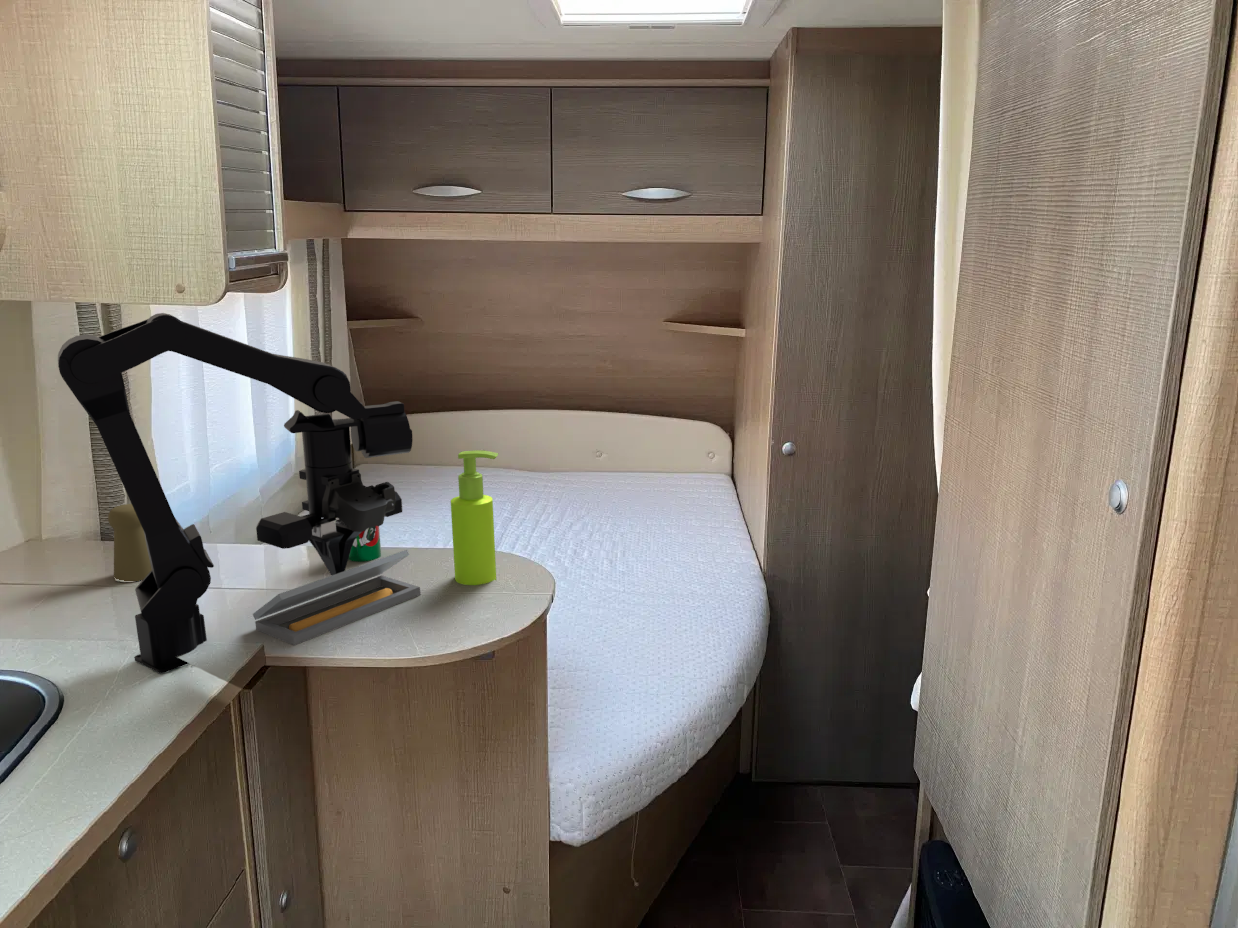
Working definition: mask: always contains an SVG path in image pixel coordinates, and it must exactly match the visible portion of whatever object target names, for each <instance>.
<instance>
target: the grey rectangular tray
mask: <svg viewBox="0 0 1238 928" xmlns="http://www.w3.org/2000/svg"><path fill="white" fill-rule="evenodd" d="M379 588H384V589H385V588H389V589H391V590H392V591H395V592H393V594H392V595H389V596H387V597H384V598H381V599H379V600H376V601H374V602H371V603H369V604H366V605H363V606H361V607H358V608H356V609H353V610H351V611H348V612H345V613H343V614H340V615H338V616H335V617H333V618H330V619H327V620H325V621H322V622H320V623H317V624H315V625H312V626H309V627H307V628H304V629H302V630H299V631H297V632H295V631H292V630H290V629H289V628H287V627H284V626H282V625H283V624H286V623H289V622H291V621H293V620H296V619H299V618H302V617H304V616H306V615H310V614H312V613H315V612H318V611H320V610H323V609H326V608H329V607H330V606H333V605H337V604H338V603H341V602H345V601H346V600H349V599H352V598H354V597H357V596H360V595H363V594H365V593H368V592H370V591H371V592H372V591H373V590H376V589H379ZM418 596H421V586H418V585H415V584H411V583H409V582H408V583H407V582H405V581H402V580H399V579H396V578H395V579H394V578H391V577H388V576H386V575H382V574H380V575H378V576H375V577H372V578H369V579H367V580H364V581H361V582H358V583H356V584H353V585H350V586H347V587H345V588H342V589H339V590H336V591H334V592H331V593H328V594H326V595H323V596H320V597H317V598H315V599H314V600H313V599H312V600H309V601H306V602H304V603H301V604H298V605H295V606H293V607H292V608H291V607H290V608H287V609H284V610H282V611H281V612H280V611H279V612H276V613H273V614H271V615H268V616H265V617H262V618H260V619H257V620H255V621H254V623H255V630H256V631H258V632H260V633H263V634H265V635H267V636H270V637H272V638H275V639H278V640H280V641H281V642H282V641H283V642H285V643H287V644H290V645H292V646H296V645H299V644H302V643H304V642H307V641H309V640H311V639H315V638H317V637H319V636H321V635H323V634H326V633H329V632H332V631H334V630H336V629H339V628H341V627H344V626H346V625H349V624H351V623H353V622H356V621H358V620H361V619H364V618H366V617H369V616H372V615H373V614H374V615H375V614H376V613H378V612H381V611H383V610H387V609H389V608H391V607H393V606H396V605H398V604H401V603H403V602H406V601H409V600H411V599H413V598H416V597H418Z"/></svg>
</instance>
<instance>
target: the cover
mask: <svg viewBox="0 0 1238 928" xmlns="http://www.w3.org/2000/svg"><path fill="white" fill-rule="evenodd" d="M409 556H410V553H409V551H408V549H404V550H401V551H399V552H396V553H393V554H391V555H387V556H385V557H382V558H381V557H380V558H377V559H375V560H372V561H369V562H367V563H365V564H361V565H359V566H356V567H353V568H350V569H346V570H345V571H344V572H341V573H338V574H335V575H332V576H331V575H329V576H327V577H324V578H321V579H318V580H316V581H312V582H310V583H307V584H304V585H301V586H298V587H295V588H292V589H289V590H286V591H283V592H281V593H278V594H277V595H275V596H274V597H273V598H271V599H270V600H269V601H267V602H266V603H265V604H264V605H263V606H261V607H260V608H258V610H256V611H255V612H254V613H252V616H253V619H254V620H255V621H257V620H260V619H263V618H266V617H268V616H271V615H274V614H277V613H279V612H280V611H281V612H282V611H285V610H288V609H290V608H291V607H292V608H293V607H296V606H299V605H301V604H304V603H307V602H310V601H313V599H314V600H315V599H318V598H321V597H324V596H326V595H329V594H332V593H335V592H337V591H340V590H343V589H346V588H348V587H351V586H354V585H357V584H359V583H362V582H365V581H368V580H370V579H373V578H376V577H379V576H381V575H382V574H384V573H386V572H387V571H388V570H390V569H391V568H393V567H394V566H395V565H397V564H398V563H400V562H402V561H403V560H404V559H405V558H407V557H409Z"/></svg>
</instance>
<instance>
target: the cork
mask: <svg viewBox="0 0 1238 928" xmlns="http://www.w3.org/2000/svg"><path fill="white" fill-rule="evenodd" d="M107 521H108V524H109V526H110V527H111V528H112V529H113V578H114V577H115V578H116V579H119V580H124V581H138V582H140V581H139V580H143V579H144V578H145V577H146V576H147V575H148V574H149V572H150V571H151V570H152V568H151V564H150V559H149V555H148V550H147V545H146V540H145V535H144V530H143V528H142V526H141V524H140V521H139V519H138V517H137V515H136V512H135V510H134V508H133V506H132V503H127V504H126V503H125V504H121V505H117V506H114V507H113V508H111V509H110V510H109V512H108V515H107Z"/></svg>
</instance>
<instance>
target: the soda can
mask: <svg viewBox="0 0 1238 928" xmlns="http://www.w3.org/2000/svg"><path fill="white" fill-rule="evenodd" d="M380 532H381V531H380V526H374V527H371V528H368V529H366V530H365V531H362V532H361V533H360V534H359V535H358V536H357V537H356V538H355V540H354V543H353V545H352V548H351V551H350V555H349V558H348V561H350V562H357V563H363V562H372V561H375V560H378V559H380V558H381V557H382V548H381V544H382V543H381V535H380V534H381V533H380Z"/></svg>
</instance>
